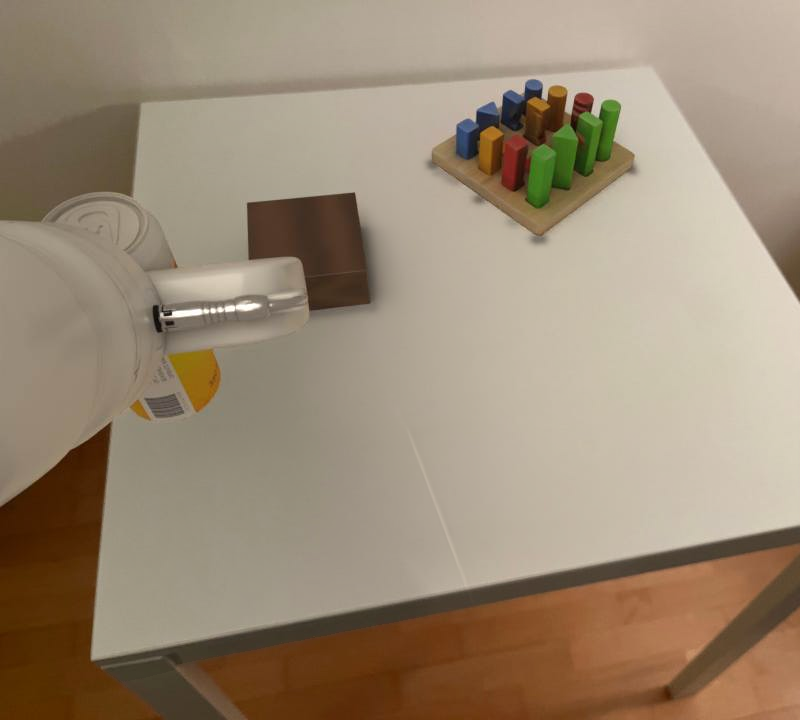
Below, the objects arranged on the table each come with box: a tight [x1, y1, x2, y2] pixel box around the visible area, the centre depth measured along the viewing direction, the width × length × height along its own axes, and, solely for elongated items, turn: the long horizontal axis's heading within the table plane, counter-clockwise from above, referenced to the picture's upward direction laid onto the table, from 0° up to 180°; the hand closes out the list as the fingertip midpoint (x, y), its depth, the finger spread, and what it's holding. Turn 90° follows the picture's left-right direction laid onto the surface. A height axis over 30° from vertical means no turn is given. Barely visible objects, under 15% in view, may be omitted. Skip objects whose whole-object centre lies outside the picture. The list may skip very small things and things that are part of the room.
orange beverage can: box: [41, 191, 222, 423], centre depth 43 cm, size 6×6×15 cm
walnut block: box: [246, 192, 371, 311], centre depth 75 cm, size 11×11×5 cm
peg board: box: [431, 78, 636, 236], centre depth 85 cm, size 18×17×9 cm
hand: (135, 301), depth 43 cm, fingers closed on orange beverage can, 6 cm apart
